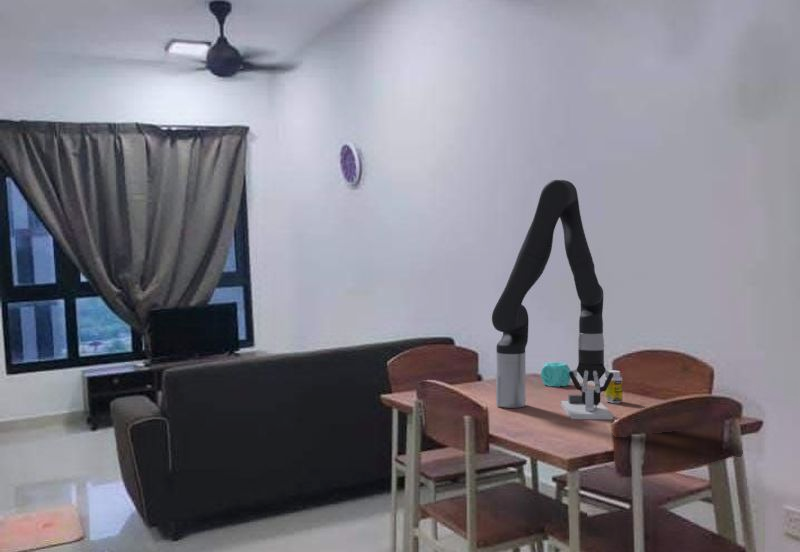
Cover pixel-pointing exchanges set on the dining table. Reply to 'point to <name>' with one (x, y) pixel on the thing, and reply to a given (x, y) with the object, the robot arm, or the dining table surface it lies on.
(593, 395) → the white orange box
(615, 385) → the supplement bottle
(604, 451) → the dining table surface
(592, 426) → the dining table surface
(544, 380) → the decorative dice
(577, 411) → the base
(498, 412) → the dining table surface
